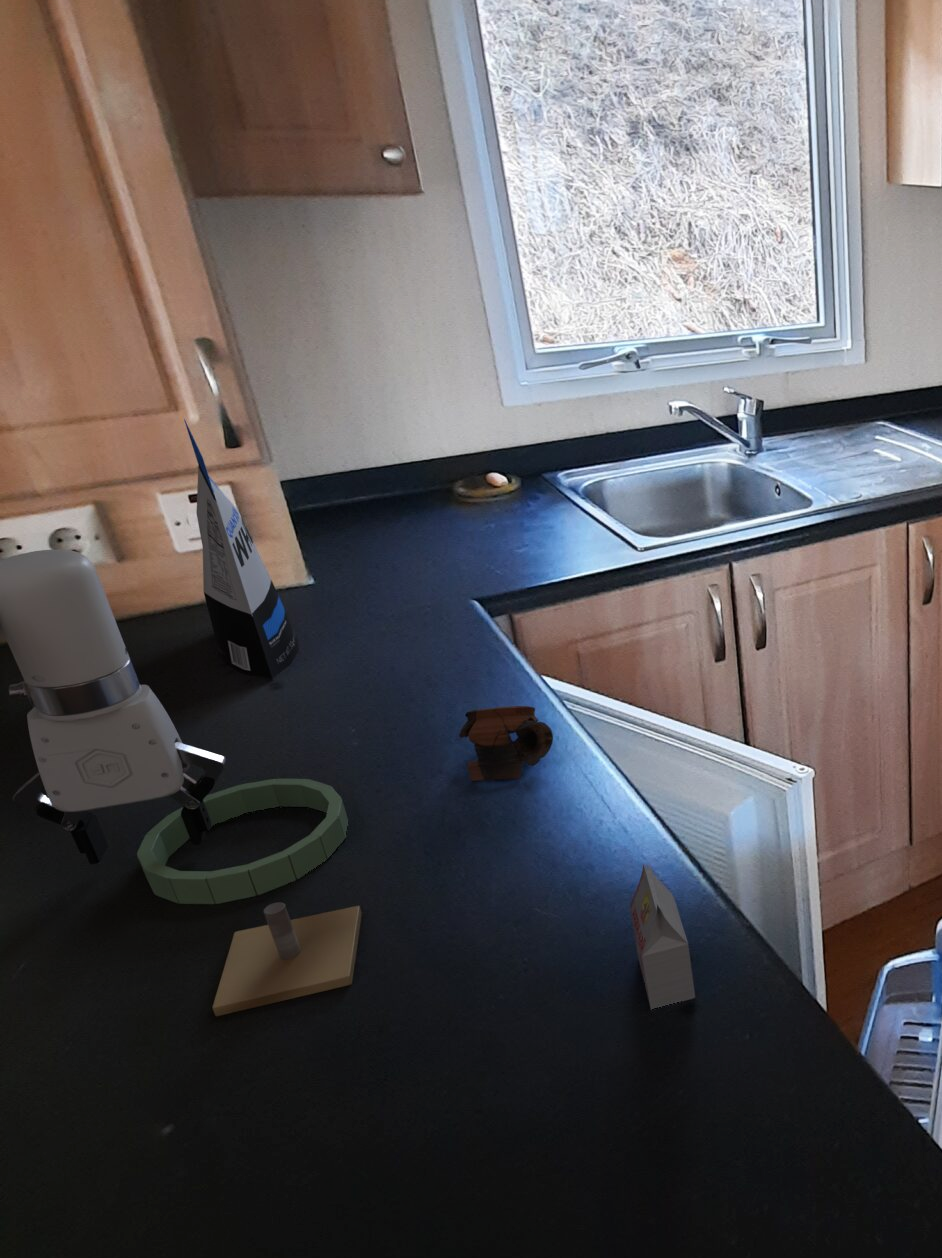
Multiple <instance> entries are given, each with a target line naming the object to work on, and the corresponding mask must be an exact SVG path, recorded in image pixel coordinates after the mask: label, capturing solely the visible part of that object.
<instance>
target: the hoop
mask: <svg viewBox="0 0 942 1258" xmlns="http://www.w3.org/2000/svg"><path fill="white" fill-rule="evenodd" d="M203 801H204V804H205V806H206V809H207V812H208V814H209V817H210V820H211V828H212V827H214V826H216V825H218V824H217V823H219V824H221V822H222V823H225V822H227V821H229V820H228V819H230V818H233V819H235V818H234V817H236V818H239V817H241V816H240V815H242V814H244V813H247V812H252V813H256V812H255V811H256V810H263V811H265V810H264V809H267V808H275V807H278V806H286V807H287V806H293V807H294V806H300V807H301V806H307V807H310V808H315V809H318V810H320V811H324V812H326V813H327V814H325V818H323V820H322V821H321V822H320V823H319V824H318V825H317V826H316V827H315V828H314V830H313V831H312V832H310V833H309V835H307V836H306V837H304V838H302V839H301V840H298V841H297V842H295V843H294V844H291V846H289V847H287V848H285V849H284V850H282V851H279V852H277V853H274V854H271V855H269V856H266V857H263V858H260V859H258V860H256V861H253V862H250V863H247V864H242V865H237V866H232V867H226V868H221V869H215V870H211V871H209V870H208V871H203V870H202V871H201V870H198V871H197V870H178V869H175V868H173V867H170V866H167V865H166V864H167V862H168V860H169V858H170V857H171V856H172V855H173V854H174V853H176V851H177V850H179V849H180V848H181V847H182V846H183V845H184V844H186V842H188V841H189V840H190V837H189V834H188V832H187V829H186V827H185V824H184V822H183V819H182V816H181V811H182V809H183V806H182V807H180V808H179V809H176V810H175V811H172V812H171V813H169V814H167V815H166V816H165V817H164V818H163V819H162V820H160V821H159V822H157V824H156V825H154V826H153V827H152V828H151V829H149V831H148V832H146V834H145V835H144V837H143V839H142V841H141V843H140V845H139V847H138V849H137V852H136V857H137V859H138V861H139V863H140V864H139V865H140V866H141V868H142V871H143V874H144V876H145V878H146V881H147V882H148V884H149V887H150V888H151V890H152V892H153V895H155V896H158V897H159V898H162V899H165V900H168V901H170V902H173V903H175V904H177V905H179V904H180V905H219V904H224V903H228V902H235V901H239V900H243V899H249V898H253V897H257V896H260V895H263V894H265V893H268V892H270V891H271V892H272V891H273V890H276V889H278V888H281V887H283V886H286V885H288V883H289V884H291V883H294V882H297V880H299V879H301V878H303V877H304V876H306V875H307V874H309V873H310V872H312V871H313V869H314V868H315V869H316V867H317V866H318V865H320V864H321V865H323V864H322V862H325V861H326V860H327V859H328V858H329V857H330V856H331V855H332V853H333V852H334V851H335V850H336V848H337V847H338V846H339V845H340V843H342V842H343V840H344V839H345V838H346V839H347V835H346V831H347V832H348V830H347V826H348V827H349V824H348V821H349V818H348V814H347V811H346V809H345V805H344V802H343V798H342V797H341V796H340V795H339V793H337V791H336V790H335V789H334V788H333V787H332V786H331V785H330V784H326V783H323V782H319V781H317V780H313V779H311V778H308V779H307V778H273V779H272V778H271V779H266V780H260V781H254V782H247V783H241V784H238V785H237V784H236V785H235V786H231V787H228V788H226V789H222V790H219V791H217V792H213V793H210V794H207V796H206V797H205V798H204V799H203ZM275 809H276V808H275ZM253 811H254V812H253ZM247 814H248V813H247ZM238 816H239V817H238ZM242 816H243V815H242ZM226 820H227V821H226ZM230 820H231V819H230ZM215 824H216V825H215ZM213 825H214V826H213ZM178 848H179V849H178ZM332 856H333V855H332ZM332 856H331V857H332ZM327 861H328V860H327ZM327 861H326V862H327ZM326 862H325V863H326ZM321 865H320V866H321ZM318 867H319V866H318ZM318 867H317V868H318ZM315 869H314V870H315ZM311 870H312V871H311ZM309 871H310V872H309ZM308 872H309V873H308ZM305 874H306V875H305ZM290 882H291V883H290Z"/></svg>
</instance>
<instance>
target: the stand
mask: <svg viewBox="0 0 942 1258" xmlns="http://www.w3.org/2000/svg"><path fill="white" fill-rule="evenodd" d="M263 914H264V917H265V920H266V922H267V924H265V925H261V926H257V927H251V928H247V929H242V930H238V931H234V933H233V936H232V940H231V942H230V946H229V950H228V953H227V956H226V960H225V963H224V966H223V969H222V973H221V977H220V981H219V984H218V987H217V990H216V994H215V997H214V1001H213V1004H212V1008H211V1009H212V1011H213V1014H214V1016H215V1017H220V1016H225V1015H228V1014H232V1013H236V1012H241V1011H246V1010H250V1009H253V1008H258V1007H262V1006H268V1005H272V1004H276V1003H280V1002H284V1001H288V1000H293V999H297V998H301V997H305V996H309V995H313V994H317V993H322V992H326V991H331V990H335V989H338V988H345V987H347V986H351V985H352V984H353V981H354V980H353V979H354V973H355V972H354V971H355V965H356V959H357V950H358V945H359V944H358V943H359V936H360V930H361V923H362V915H363V913H362V909H361V906H360V905H355V906H350V907H346V908H341V909H336V910H331V911H326V912H322V913H318V914H313V915H308V916H303V917H298V918H294V919H291V918H290V915H289V912H288V909H287V906H286V904H285V903H284V902H280V901H279V902H277V901H276V902H273V903H270V904H268V905H267V906H266V907H264V909H263Z"/></svg>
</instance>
